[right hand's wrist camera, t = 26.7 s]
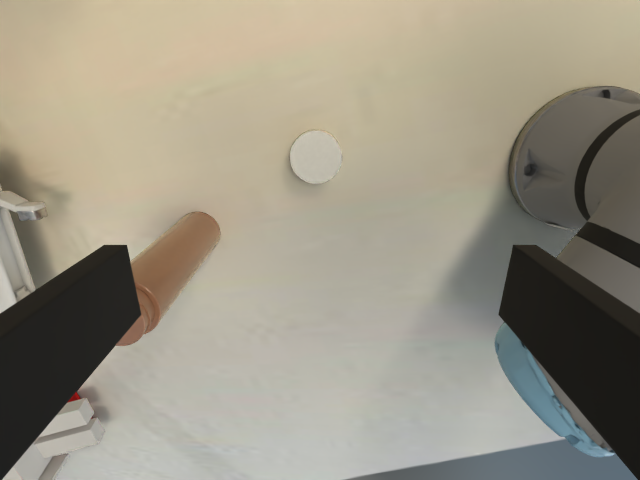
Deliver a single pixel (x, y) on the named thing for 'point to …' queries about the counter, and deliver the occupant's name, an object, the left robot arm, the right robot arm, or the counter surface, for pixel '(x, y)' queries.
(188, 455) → the counter surface
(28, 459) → the toy
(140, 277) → the tan brown cylinder
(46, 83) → the counter surface
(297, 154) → the lid
